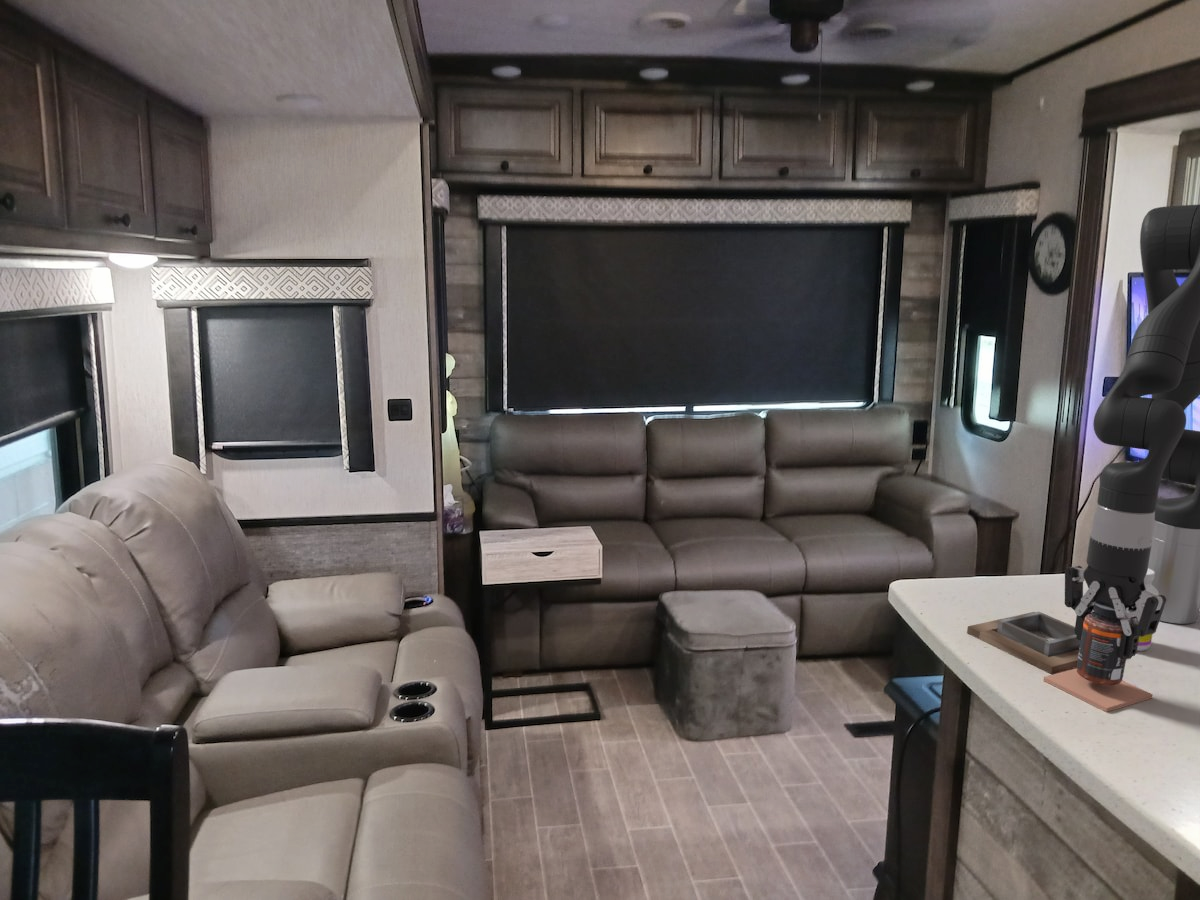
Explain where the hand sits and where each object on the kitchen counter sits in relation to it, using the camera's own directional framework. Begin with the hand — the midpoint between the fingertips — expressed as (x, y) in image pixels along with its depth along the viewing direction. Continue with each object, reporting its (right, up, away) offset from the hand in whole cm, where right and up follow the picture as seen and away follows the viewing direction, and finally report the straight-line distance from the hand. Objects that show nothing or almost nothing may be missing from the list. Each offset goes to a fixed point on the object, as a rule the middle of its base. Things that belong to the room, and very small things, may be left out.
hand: (1103, 648), depth 128 cm
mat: (0, -6, +1) cm, 6 cm away
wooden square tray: (-1, -3, +16) cm, 17 cm away
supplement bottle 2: (+14, -3, +17) cm, 22 cm away
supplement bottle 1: (0, -5, +1) cm, 5 cm away
